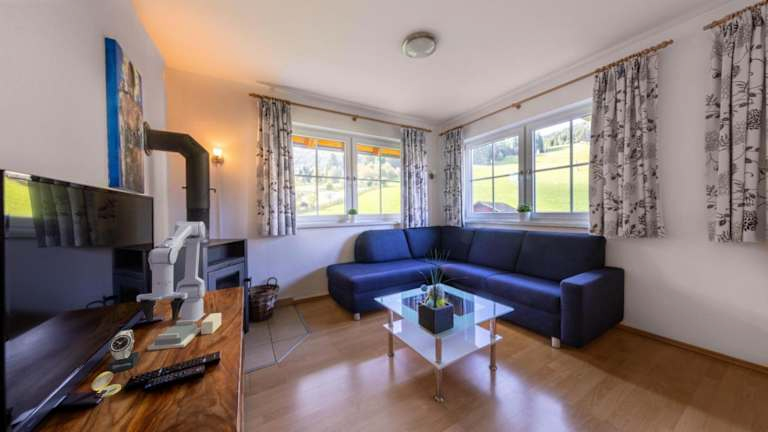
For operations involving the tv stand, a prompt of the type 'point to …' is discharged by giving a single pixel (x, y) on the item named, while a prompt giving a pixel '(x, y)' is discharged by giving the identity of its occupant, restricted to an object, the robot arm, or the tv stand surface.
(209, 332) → the cream rectangular box
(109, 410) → the tv stand surface
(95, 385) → the gold round case
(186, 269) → the robot arm
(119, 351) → the watch
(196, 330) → the display stand
